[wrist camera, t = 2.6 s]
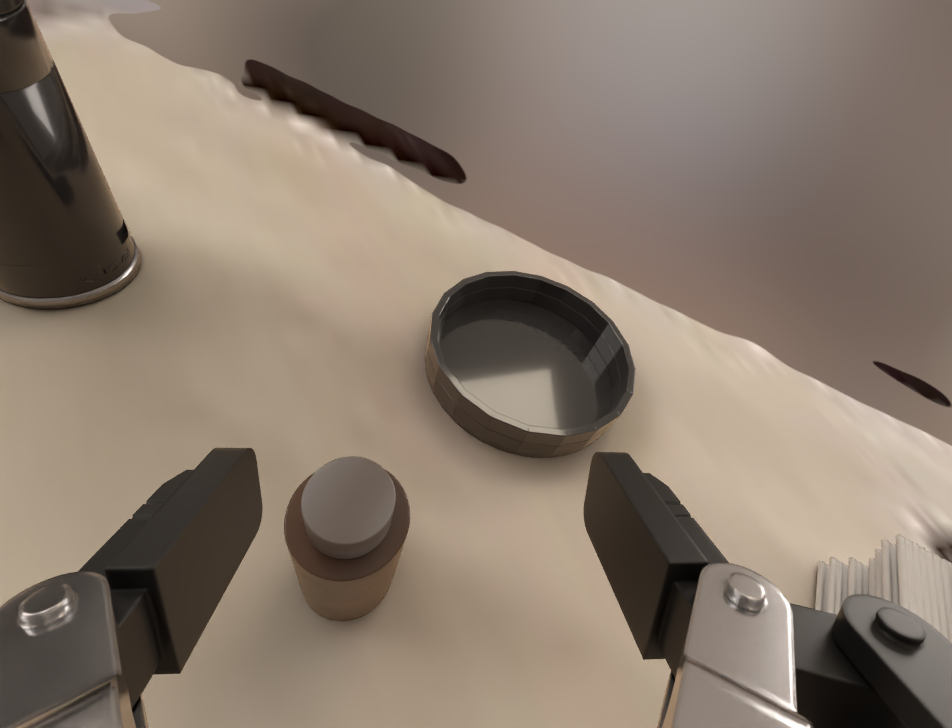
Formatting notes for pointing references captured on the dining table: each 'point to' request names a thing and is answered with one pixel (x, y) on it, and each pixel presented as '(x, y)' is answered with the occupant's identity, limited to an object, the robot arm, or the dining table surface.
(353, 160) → the dining table surface
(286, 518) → the pepper mill
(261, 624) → the dining table surface
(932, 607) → the aluminum extrusion profile
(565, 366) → the pan
